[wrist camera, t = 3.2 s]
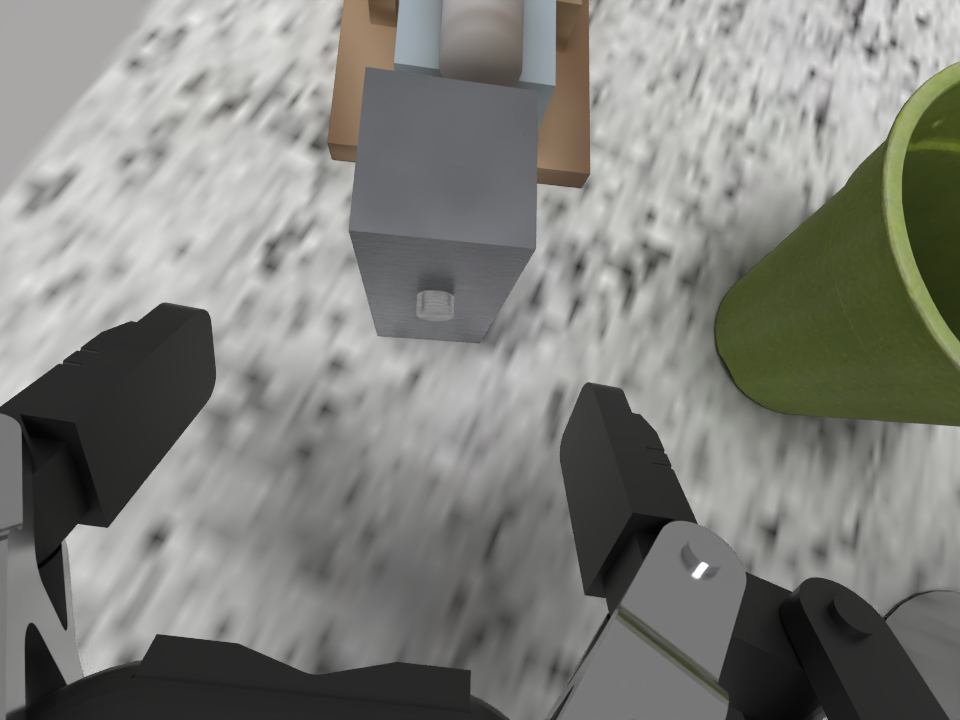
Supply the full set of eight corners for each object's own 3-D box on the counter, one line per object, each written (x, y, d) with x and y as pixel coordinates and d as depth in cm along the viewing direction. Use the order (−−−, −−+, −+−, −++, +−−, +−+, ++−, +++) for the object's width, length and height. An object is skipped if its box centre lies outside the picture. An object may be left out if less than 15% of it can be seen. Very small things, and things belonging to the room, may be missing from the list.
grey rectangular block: (484, 236, 23) (538, 70, 13) (479, 357, 21) (535, 273, 12) (386, 227, 22) (367, 44, 12) (376, 350, 21) (345, 256, 11)
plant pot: (856, 227, 26) (1185, 57, 15) (908, 453, 23) (1343, 449, 13) (648, 227, 24) (847, 34, 13) (684, 471, 22) (961, 486, 11)
